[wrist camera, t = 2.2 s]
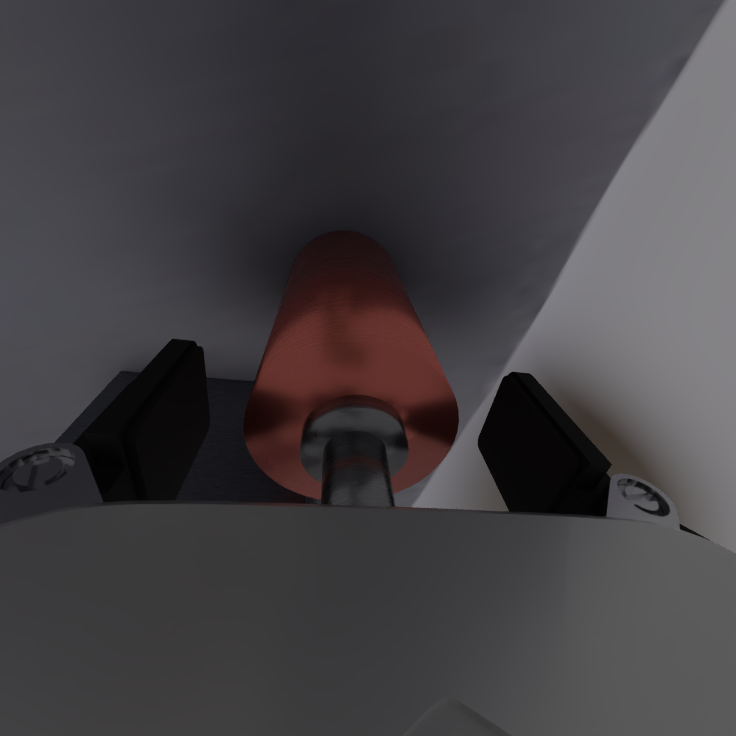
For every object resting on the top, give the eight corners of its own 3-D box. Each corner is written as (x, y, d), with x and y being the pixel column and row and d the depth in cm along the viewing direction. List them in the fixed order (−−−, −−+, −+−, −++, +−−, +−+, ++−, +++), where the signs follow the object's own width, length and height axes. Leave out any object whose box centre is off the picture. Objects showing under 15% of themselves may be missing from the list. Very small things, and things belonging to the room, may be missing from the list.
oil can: (292, 223, 15) (177, 448, 4) (406, 239, 16) (570, 467, 5) (289, 327, 17) (213, 634, 7) (386, 337, 18) (461, 628, 7)
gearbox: (120, 371, 18) (-103, 611, 9) (332, 387, 20) (329, 603, 10) (163, 529, 25) (67, 747, 16) (314, 531, 27) (304, 731, 18)
